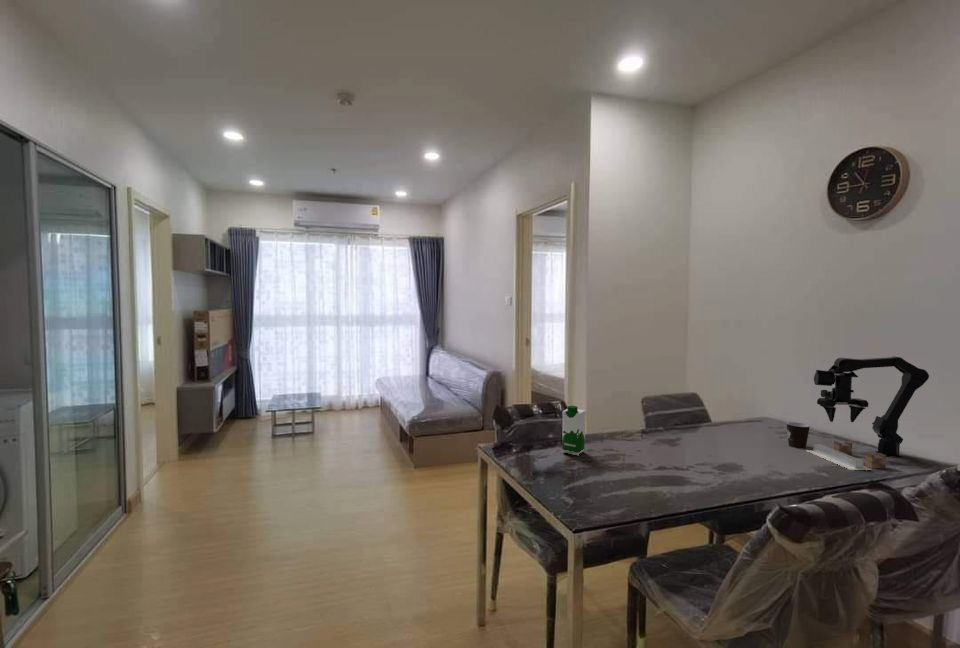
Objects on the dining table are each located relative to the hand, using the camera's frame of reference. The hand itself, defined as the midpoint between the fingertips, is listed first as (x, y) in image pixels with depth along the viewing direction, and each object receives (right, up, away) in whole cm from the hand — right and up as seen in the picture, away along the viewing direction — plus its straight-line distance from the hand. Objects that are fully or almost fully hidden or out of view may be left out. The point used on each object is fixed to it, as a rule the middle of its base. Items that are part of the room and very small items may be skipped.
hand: (841, 421), depth 201 cm
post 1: (-4, -13, -6) cm, 14 cm away
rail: (-13, -12, -14) cm, 22 cm away
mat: (-13, -13, -14) cm, 23 cm away
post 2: (-4, -13, -22) cm, 26 cm away
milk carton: (-120, -11, -9) cm, 121 cm away
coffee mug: (-15, -12, +6) cm, 21 cm away
